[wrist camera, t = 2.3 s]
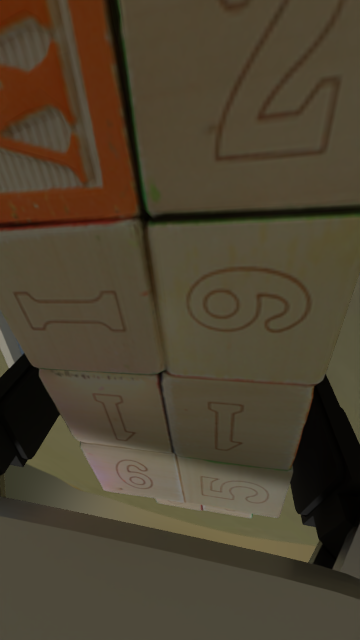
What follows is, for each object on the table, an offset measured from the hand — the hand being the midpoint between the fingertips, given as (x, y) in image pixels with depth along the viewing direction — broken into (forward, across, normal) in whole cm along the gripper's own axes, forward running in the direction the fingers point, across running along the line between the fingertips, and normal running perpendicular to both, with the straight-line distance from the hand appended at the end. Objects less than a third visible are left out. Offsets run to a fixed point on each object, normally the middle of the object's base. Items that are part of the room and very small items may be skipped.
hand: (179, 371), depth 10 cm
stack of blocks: (+8, -1, +1) cm, 9 cm away
